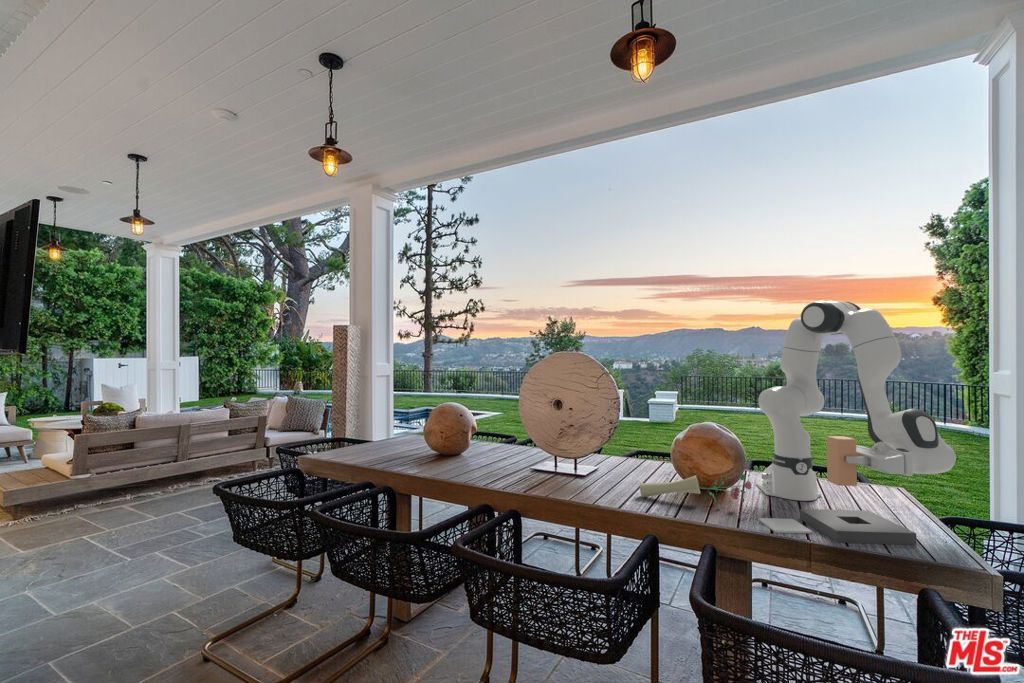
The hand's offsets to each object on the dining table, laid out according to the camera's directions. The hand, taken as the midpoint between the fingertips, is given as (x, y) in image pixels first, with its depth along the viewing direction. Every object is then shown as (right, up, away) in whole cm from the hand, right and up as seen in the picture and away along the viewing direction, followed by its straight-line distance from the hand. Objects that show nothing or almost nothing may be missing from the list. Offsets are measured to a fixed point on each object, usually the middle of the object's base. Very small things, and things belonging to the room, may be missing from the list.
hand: (838, 456), depth 133 cm
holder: (+3, -21, -1) cm, 21 cm away
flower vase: (-33, -22, +22) cm, 45 cm away
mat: (-14, -21, +2) cm, 25 cm away
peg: (+1, -8, 0) cm, 8 cm away
